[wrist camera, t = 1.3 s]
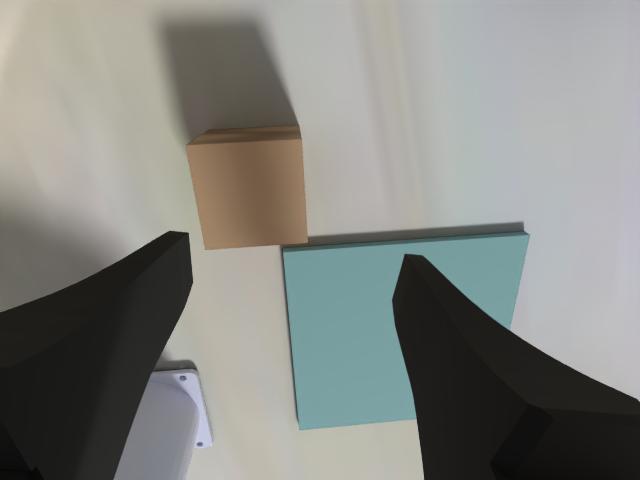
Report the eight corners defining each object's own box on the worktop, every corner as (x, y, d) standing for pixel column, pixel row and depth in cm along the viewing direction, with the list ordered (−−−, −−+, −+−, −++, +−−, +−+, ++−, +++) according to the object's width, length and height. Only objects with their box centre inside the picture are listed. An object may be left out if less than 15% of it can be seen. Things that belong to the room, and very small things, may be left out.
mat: (299, 423, 30) (299, 430, 29) (283, 248, 23) (283, 252, 23) (488, 405, 31) (492, 411, 30) (524, 231, 24) (530, 235, 24)
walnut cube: (222, 214, 22) (205, 249, 18) (208, 129, 20) (185, 145, 16) (304, 209, 23) (308, 243, 18) (298, 125, 21) (301, 139, 16)
